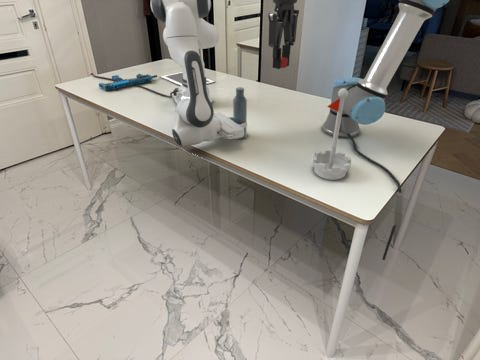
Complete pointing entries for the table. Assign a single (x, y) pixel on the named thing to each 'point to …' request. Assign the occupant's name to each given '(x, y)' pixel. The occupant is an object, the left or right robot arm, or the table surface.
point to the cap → (284, 62)
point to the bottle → (240, 109)
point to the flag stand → (333, 149)
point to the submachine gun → (126, 81)
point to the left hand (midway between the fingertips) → (241, 121)
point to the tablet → (180, 78)
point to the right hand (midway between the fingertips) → (280, 66)
